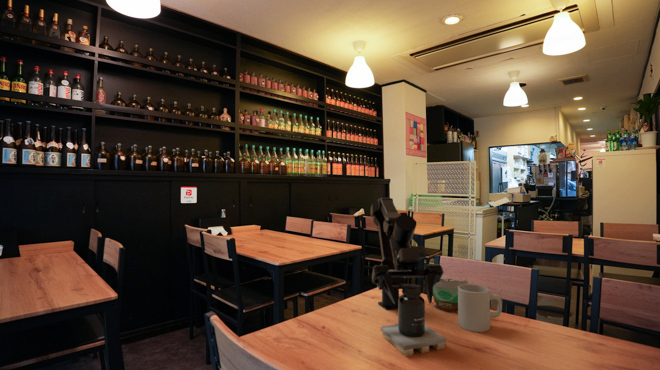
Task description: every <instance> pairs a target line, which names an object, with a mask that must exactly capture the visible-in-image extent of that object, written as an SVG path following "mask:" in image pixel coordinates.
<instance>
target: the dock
mask: <svg viewBox="0 0 660 370" xmlns="http://www.w3.org/2000/svg"><path fill="white" fill-rule="evenodd" d="M380 331H381V332H382V336H383V338H384V339H386V340H387V341H388V342H389V343H390V344H391V345H392V346H394V347H395V349H396V350H398V351H399V352H400V353H402V354H403V355H404V356H405V357H410V356H414V349H416V350H417V351H419V352H420V353H421V354H424V353H430V346H432V347H433V348H434V349H435V350H436V351H441V350H445V345H446V343H447V338H446V337H444V336H443V335H441V334H440V333H438V332H436V331H435V330H434V329H432V328H431V327H429V326H427V325H426V324H425V333H424V334H423V335H422V336H420V337H409V336H405V335H403V334H401V333H400V332H399V330H398V323H397V324H390V325H385V326H380Z"/></svg>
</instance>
